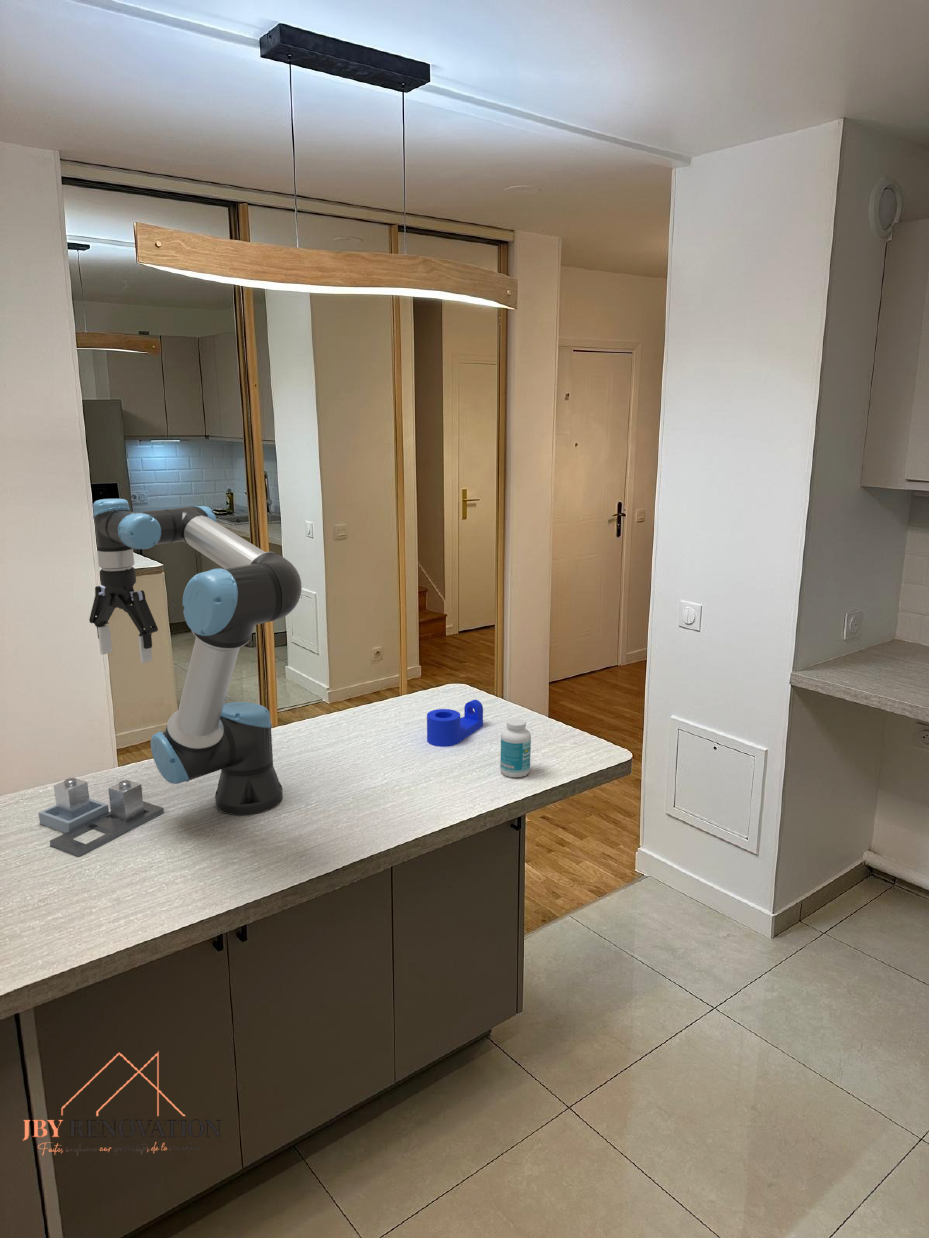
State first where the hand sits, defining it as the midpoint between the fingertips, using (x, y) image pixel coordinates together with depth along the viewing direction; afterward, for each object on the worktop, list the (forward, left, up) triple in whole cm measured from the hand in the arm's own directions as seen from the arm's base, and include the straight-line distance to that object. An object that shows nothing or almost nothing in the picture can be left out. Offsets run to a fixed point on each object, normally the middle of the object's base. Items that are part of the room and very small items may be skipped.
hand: (126, 657), depth 199 cm
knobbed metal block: (-3, +20, -31) cm, 37 cm away
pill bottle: (-77, -50, -32) cm, 97 cm away
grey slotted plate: (-13, +19, -32) cm, 39 cm away
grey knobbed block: (-13, +14, -32) cm, 37 cm away
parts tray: (-3, +20, -32) cm, 38 cm away
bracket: (-51, -65, -32) cm, 89 cm away
